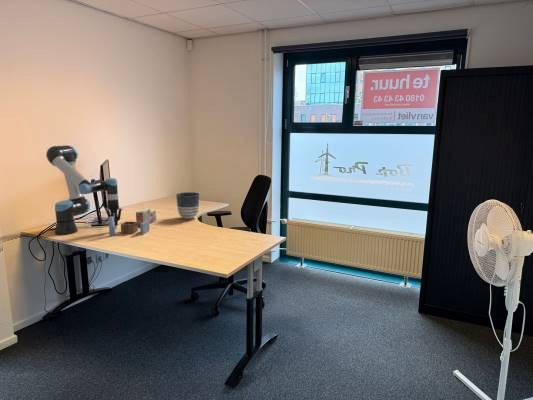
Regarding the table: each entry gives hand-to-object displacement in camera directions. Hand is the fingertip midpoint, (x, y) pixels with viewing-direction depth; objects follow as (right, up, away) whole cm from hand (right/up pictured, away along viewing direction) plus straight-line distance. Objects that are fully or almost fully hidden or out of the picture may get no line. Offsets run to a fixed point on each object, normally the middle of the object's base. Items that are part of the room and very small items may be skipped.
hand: (115, 229), depth 283 cm
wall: (+23, -2, -1) cm, 23 cm away
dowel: (+2, -4, -10) cm, 11 cm away
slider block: (+11, -2, 0) cm, 11 cm away
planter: (+47, +6, +43) cm, 64 cm away
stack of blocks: (+16, +3, +25) cm, 29 cm away
